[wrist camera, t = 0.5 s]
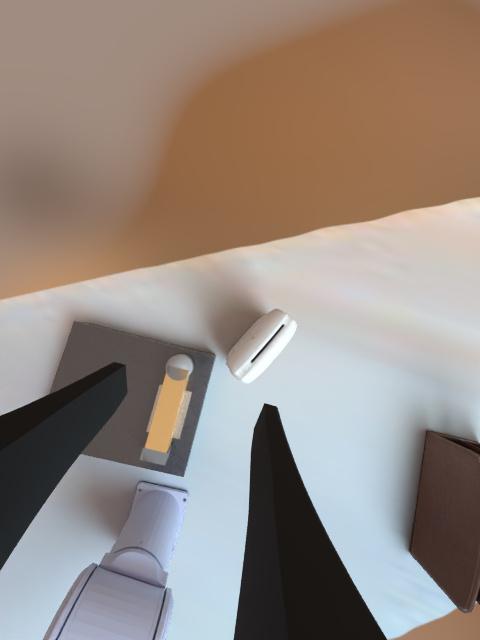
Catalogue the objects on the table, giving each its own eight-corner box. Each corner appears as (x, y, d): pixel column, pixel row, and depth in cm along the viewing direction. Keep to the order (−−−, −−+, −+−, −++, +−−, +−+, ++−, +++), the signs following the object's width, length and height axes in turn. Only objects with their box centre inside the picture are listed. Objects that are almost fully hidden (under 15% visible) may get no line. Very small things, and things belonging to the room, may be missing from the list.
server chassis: (186, 466, 32) (183, 477, 29) (48, 434, 31) (32, 443, 28) (215, 355, 34) (215, 356, 31) (85, 322, 33) (73, 321, 30)
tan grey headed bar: (173, 351, 30) (169, 352, 28) (196, 357, 31) (194, 358, 29) (145, 451, 29) (139, 459, 27) (169, 456, 29) (165, 465, 27)
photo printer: (241, 374, 34) (249, 395, 21) (222, 357, 34) (220, 368, 21) (281, 329, 35) (310, 324, 22) (262, 312, 35) (282, 298, 23)
